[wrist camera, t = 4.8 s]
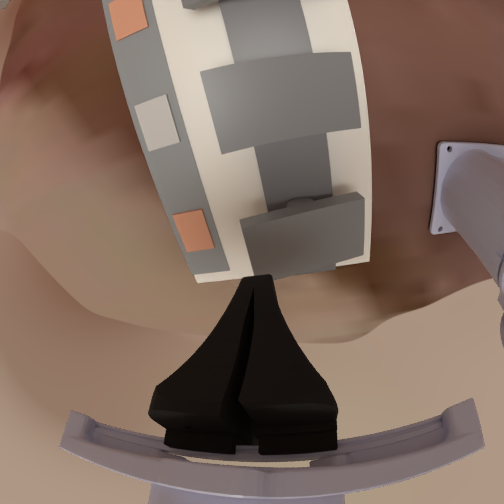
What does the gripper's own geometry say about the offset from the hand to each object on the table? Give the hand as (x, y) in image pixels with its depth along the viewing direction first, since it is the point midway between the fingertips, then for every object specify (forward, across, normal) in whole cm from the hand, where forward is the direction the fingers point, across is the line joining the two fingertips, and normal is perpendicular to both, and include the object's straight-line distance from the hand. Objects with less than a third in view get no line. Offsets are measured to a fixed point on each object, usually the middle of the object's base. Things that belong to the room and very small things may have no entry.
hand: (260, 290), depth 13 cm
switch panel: (+8, 0, -8) cm, 12 cm away
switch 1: (+4, -2, -8) cm, 9 cm away
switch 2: (+4, -2, 0) cm, 5 cm away
